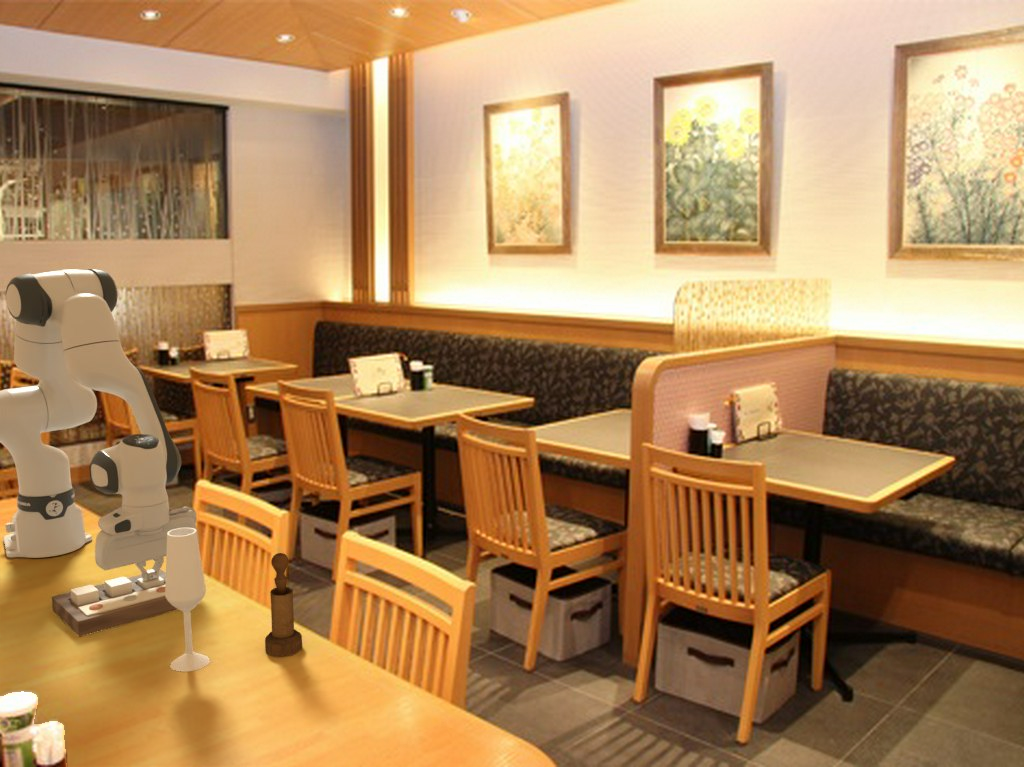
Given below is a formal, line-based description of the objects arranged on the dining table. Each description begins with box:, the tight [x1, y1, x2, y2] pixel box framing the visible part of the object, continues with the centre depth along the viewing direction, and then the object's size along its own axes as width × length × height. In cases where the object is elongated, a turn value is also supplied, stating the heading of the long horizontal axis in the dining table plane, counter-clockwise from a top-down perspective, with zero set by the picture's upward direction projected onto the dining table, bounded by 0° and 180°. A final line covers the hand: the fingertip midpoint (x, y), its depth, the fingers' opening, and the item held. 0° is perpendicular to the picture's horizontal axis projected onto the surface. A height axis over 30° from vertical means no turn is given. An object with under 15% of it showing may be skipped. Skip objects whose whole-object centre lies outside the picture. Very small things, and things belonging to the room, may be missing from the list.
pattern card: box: [78, 585, 165, 616], centre depth 188 cm, size 5×18×1 cm, turn 132°
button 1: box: [70, 583, 99, 607], centre depth 189 cm, size 4×4×3 cm
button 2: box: [137, 576, 164, 589], centre depth 197 cm, size 4×4×3 cm
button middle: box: [103, 576, 133, 598], centre depth 193 cm, size 4×4×3 cm
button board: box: [51, 569, 178, 637], centre depth 192 cm, size 16×22×3 cm
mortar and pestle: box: [264, 552, 303, 658], centre depth 172 cm, size 7×6×18 cm
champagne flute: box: [165, 528, 211, 673], centre depth 166 cm, size 7×7×24 cm
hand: (150, 579), depth 197 cm, fingers closed, pressing on button 2
